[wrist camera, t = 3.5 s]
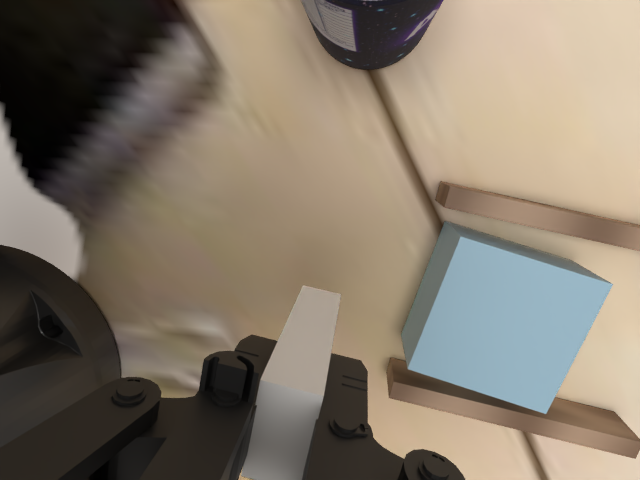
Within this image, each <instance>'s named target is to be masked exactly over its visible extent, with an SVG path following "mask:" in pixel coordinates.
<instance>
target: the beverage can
mask: <svg viewBox="0 0 640 480" xmlns="http://www.w3.org/2000/svg"><path fill="white" fill-rule="evenodd" d="M301 2H302V4H303V6H304V8H305V11H306V13H307V15H308V17H309V20H310V22H311V24H312V26H313V29H314V31H315V33H316V35H317V37H318V39H319V41H320V43H321V44H322V46H323V47H324V48H325V49H326V51H327V52H328V53H329V54H330V55H331V56H333V57H334V58H335V59H337V60H338V61H340V62H341V63H343V64H345V65H348V66H350V67H354V68H358V69H378V68H383V67H386V66H389V65H391V64H394V63H395V62H397V61H399V60H401V59H402V58H403V57H405V56H406V55H407V54H408V53H410V52H411V51H412V50H413V49H414V47H415V46H416V45H417V44H418V43H419V41H420V40H421V38H422V37H423V35H424V33H425V31H426V30H427V28H428V26H429V24H430V23H431V21H432V19H433V17H434V16H435V14H436V12H437V10H438V9H439V7H440V5H441V3H442V2H443V0H301Z"/></svg>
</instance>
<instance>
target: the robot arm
mask: <svg viewBox="0 0 640 480" xmlns="http://www.w3.org/2000/svg"><path fill="white" fill-rule="evenodd" d="M340 299H341V294H338V293H334V292H330V291H326V290H322V289H317V288H313V287H309V286H305V285H303V286H302V288H301V290H300V293H299V295H298V297H297V299H296V302H295V304H294V306H293V308H292V310H291V313H290V315H289V317H288V319H287V322H286V324H285V326H284V328H283V330H282V333H281V335H280V337H279V339H278V341H275V340H271V339H267V338H263V337H259V336H255V335H250V336H248V337H246V338H244V339H243V340H241V341H240V342H239V344H238V345H237V347H236V348H235V351H234V352H233V351H221V352H216V353H213V354H210V355H209V356H208V357H206V358H205V359H204V362H203V368H202V374H201V381H200V387H199V391H198V392H197V394H196V395H195V396H193V397H188V398H161V390H160V388H159V386H158V385H157V384H155V383H154V382H152V381H151V380H147V379H144V378H140V377H127V378H121V379H120V365H119V358H118V353H117V349H116V345H115V342H114V339H113V336H112V334H111V331H110V329H109V327H108V325H107V323H106V321H105V319H104V318H103V316H102V314H101V312H100V311H99V309H98V308H97V306H96V305H95V304H94V302H93V301H92V300H91V298H90V297H89V296H88V295H87V294H86V293H85V291H84V290H83V289H82V288H81V287H80V286H79V285H78V284H77V283H76V282H74V281H73V280H72V279H71V278H70V277H69V276H67V275H66V274H65V273H64V272H62V271H61V270H60V269H58V268H57V267H55V266H54V265H52V264H50V263H48V262H47V261H45V260H43V259H41V258H39V257H37V256H35V255H33V254H30V253H28V252H25V251H22V250H20V249H16V248H12V247H8V246H3V245H0V480H238V478H239V475H240V472H241V470H242V474H241V476H243V477H247V478H251V479H254V480H465V478H464V476H463V475H462V473H461V472H460V471H459V469H458V468H457V467H456V465H454V464H453V463H452V462H451V461H449V460H448V459H447V458H446V457H444V456H442V455H440V454H438V453H436V452H433V451H428V450H424V449H421V450H413V451H411V452H409V453H408V454H406V457H405V459H403V458H401V457H399V456H397V455H395V454H393V453H391V452H390V451H388V450H387V449H385V448H383V447H382V446H381V445H380V444H379V443H378V442H376V440H375V439H374V438H373V433H372V430H371V427H370V425H369V424H368V400H367V369H366V368H365V366H364V365H363V363H362V361H361V360H357V359H353V358H349V357H344V356H340V355H336V354H332V353H331V351H332V345H333V339H334V334H335V328H336V322H337V316H338V310H339V304H340ZM242 467H243V469H242Z"/></svg>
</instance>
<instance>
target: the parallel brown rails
mask: <svg viewBox="0 0 640 480" xmlns="http://www.w3.org/2000/svg"><path fill="white" fill-rule="evenodd" d="M436 201H437V202H438V203H440V204H441V205H442V206H443V207H445V208H450V209H454V210H459V211H463V212H467V213H472V214H476V215H481V216H485V217H490V218H494V219H499V220H503V221H508V222H512V223H517V224H521V225H526V226H530V227H535V228H539V229H544V230H548V231H552V232H557V233H561V234H566V235H570V236H575V237H579V238H584V239H588V240H593V241H597V242H602V243H606V244H611V245H615V246H620V247H624V248H629V249H633V250H637V251H640V225H636V224H631V223H627V222H622V221H618V220H613V219H609V218H604V217H600V216H595V215H591V214H586V213H582V212H577V211H573V210H568V209H564V208H559V207H554V206H550V205H545V204H541V203H536V202H532V201H527V200H523V199H518V198H514V197H509V196H505V195H500V194H496V193H491V192H486V191H482V190H477V189H473V188H468V187H464V186H459V185H455V184H450V183H446V182H440V185H439V189H438V192H437V196H436ZM387 382H388V392H389V398H392V399H396V400H400V401H404V402H408V403H412V404H416V405H420V406H424V407H428V408H432V409H436V410H440V411H444V412H448V413H452V414H456V415H460V416H464V417H469V418H473V419H477V420H481V421H485V422H489V423H493V424H497V425H501V426H505V427H509V428H513V429H517V430H521V431H525V432H529V433H533V434H537V435H541V436H546V437H550V438H554V439H558V440H562V441H566V442H570V443H574V444H578V445H582V446H586V447H590V448H594V449H598V450H602V451H606V452H610V453H614V454H618V455H622V456H627V457H631V458H635V459H636V457H637V454H638V452H639V450H640V439H639V438H638V437H637V436H636V434H635V433H634V432H633V431H632V430H631V429H630V428H629V427H628V426H627V425H626V424H625V423H624V422H623V420H622V419H621V418H620V417H619V416H618V415H617V414H616V413H615V412H613V411H608V410H604V409H600V408H596V407H592V406H588V405H584V404H580V403H575V402H571V401H567V400H563V399H559V398H554V400H553V402H552V404H551V405H550V407H549V409H548V411H547V413H546V414H544V413H541V412H538V411H535V410H532V409H529V408H526V407H523V406H519V405H516V404H513V403H510V402H507V401H504V400H501V399H498V398H495V397H492V396H489V395H486V394H483V393H480V392H476V391H473V390H470V389H467V388H464V387H461V386H458V385H455V384H452V383H449V382H446V381H443V380H440V379H437V378H433V377H430V376H427V375H424V374H421V373H418V372H415V371H412V370H409V369H407V364H406V361H402V360H398V359H394V358H391V359H390V362H389V366H388V369H387Z"/></svg>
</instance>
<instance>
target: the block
mask: <svg viewBox="0 0 640 480" xmlns="http://www.w3.org/2000/svg"><path fill="white" fill-rule="evenodd" d="M612 285H613V284H611V283H610V282H608V281H606V280H604V279H603V278H601V277H599V276H598V275H596V274H594V273H592V272H591V271H589V270H587V269H585V268H584V267H582V266H580V265H579V264H577V263H575V262H573V261H571V260H568V259H565V258H562V257H559V256H556V255H552V254H549V253H546V252H543V251H540V250H536V249H533V248H530V247H527V246H524V245H521V244H517V243H514V242H511V241H508V240H505V239H501V238H498V237H495V236H492V235H489V234H486V233H482V232H479V231H476V230H473V229H470V228H466V227H463V226H460V225H457V224H454V223H451V222H447V221H445V222H444V225H443V227H442V230H441V232H440V235H439V238H438V240H437V243H436V245H435V248H434V251H433V253H432V256H431V258H430V261H429V263H428V266H427V269H426V271H425V274H424V276H423V279H422V282H421V284H420V287H419V289H418V292H417V294H416V297H415V300H414V302H413V305H412V307H411V310H410V313H409V315H408V318H407V320H406V323H405V325H404V328H403V331H402V333H401V337H402V342H403V348H404V353H405V358H406V364H407V369H409V370H412V371H415V372H418V373H421V374H424V375H427V376H430V377H433V378H437V379H440V380H443V381H446V382H449V383H452V384H455V385H458V386H461V387H464V388H467V389H470V390H473V391H476V392H480V393H483V394H486V395H489V396H492V397H495V398H498V399H501V400H504V401H507V402H510V403H513V404H516V405H519V406H523V407H526V408H529V409H532V410H535V411H538V412H541V413H544V414H546V413H547V411H548V409H549V407H550V405H551V404H552V402H553V400H554V398H555V396H556V394H557V392H558V390H559V388H560V386H561V384H562V382H563V380H564V378H565V376H566V374H567V373H568V371H569V369H570V367H571V365H572V363H573V361H574V359H575V357H576V355H577V353H578V351H579V349H580V347H581V345H582V343H583V342H584V340H585V338H586V336H587V334H588V332H589V330H590V328H591V326H592V324H593V322H594V320H595V318H596V316H597V314H598V312H599V310H600V309H601V307H602V305H603V303H604V301H605V299H606V297H607V295H608V293H609V291H610V289H611V287H612Z"/></svg>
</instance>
